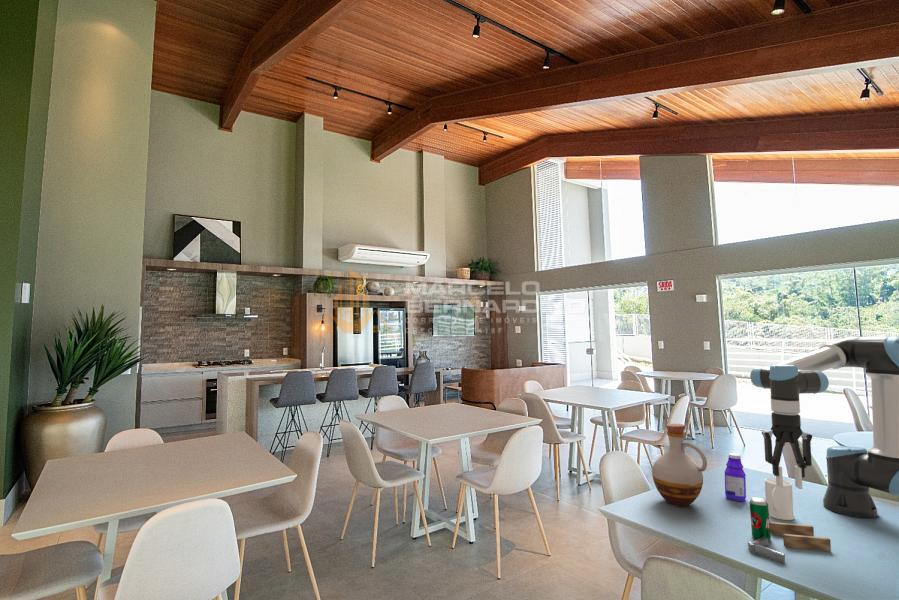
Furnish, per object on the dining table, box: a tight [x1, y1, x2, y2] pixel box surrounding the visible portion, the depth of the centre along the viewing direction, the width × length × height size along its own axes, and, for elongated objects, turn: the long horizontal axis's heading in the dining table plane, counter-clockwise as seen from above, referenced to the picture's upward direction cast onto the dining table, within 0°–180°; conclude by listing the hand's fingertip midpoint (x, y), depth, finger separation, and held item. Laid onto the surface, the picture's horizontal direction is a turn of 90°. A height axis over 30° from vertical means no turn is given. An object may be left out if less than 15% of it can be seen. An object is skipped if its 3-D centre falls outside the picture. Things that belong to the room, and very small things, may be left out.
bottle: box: [724, 452, 747, 502], centre depth 181 cm, size 7×6×17 cm
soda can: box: [749, 497, 772, 542], centre depth 146 cm, size 5×5×12 cm
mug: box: [764, 477, 795, 521], centre depth 163 cm, size 12×8×12 cm
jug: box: [651, 423, 708, 508], centre depth 176 cm, size 20×18×30 cm
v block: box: [747, 537, 786, 565], centre depth 136 cm, size 7×12×2 cm, turn 167°
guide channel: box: [770, 521, 832, 552], centre depth 143 cm, size 12×10×4 cm
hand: (789, 486), depth 145 cm, fingers open, 5 cm apart
